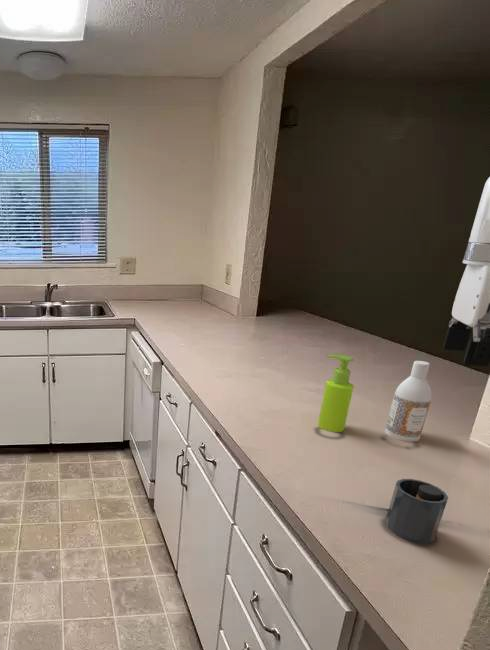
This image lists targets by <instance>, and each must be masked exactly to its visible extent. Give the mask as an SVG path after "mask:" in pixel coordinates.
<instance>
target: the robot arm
mask: <svg viewBox="0 0 490 650" xmlns="http://www.w3.org/2000/svg"><path fill="white" fill-rule="evenodd" d="M474 217H475V218H474V222H473V225H472V228H471V232H470V236H469V239H468V243H467V246H466V249H465V252H464V256H463V259H462V264H465V265H466V266H465V269H464V271H463V274H462V277H461V279H460V282H459V285H458V288H457V291H456V294H455V297H454V301H453V305H452V310H451V314H450V315H451V319H450V320H449V323H448V328H447V331H446V335H445V339H444V343H443V345H442V348H443V349H444V350H446V351H447V350H449V351H461V352H463V351H465V350H466V352H465V355H464V358H463V362H462V363H463V364H464V365H466V366H473V367H474V366H477V367H488V366H489V365H490V176H489V177H488V178H487V180H486V181H485V183H484V186H483V190H482V193H481V197H480V200H479V203H478V207H477V211H476V214H475V216H474ZM471 328H472V329H471ZM482 330H483V331H482ZM471 332H472V340H471V339H470V337H471V336H470V335H471Z"/></svg>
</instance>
